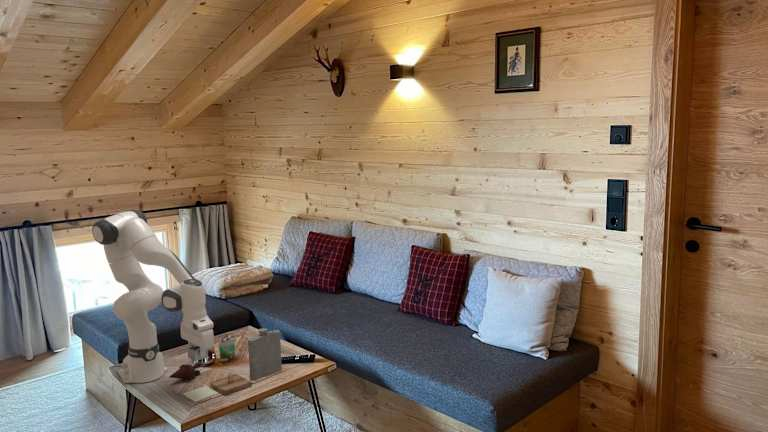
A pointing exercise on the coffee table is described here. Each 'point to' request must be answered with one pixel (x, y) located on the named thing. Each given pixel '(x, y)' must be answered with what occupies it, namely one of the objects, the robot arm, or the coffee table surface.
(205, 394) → the pad
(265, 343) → the hip flask
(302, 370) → the coffee table surface
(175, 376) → the icecream
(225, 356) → the food container
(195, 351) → the collar
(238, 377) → the peg stand
